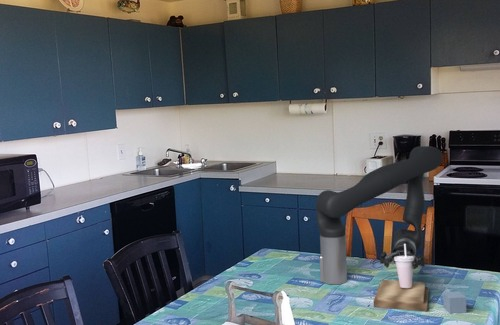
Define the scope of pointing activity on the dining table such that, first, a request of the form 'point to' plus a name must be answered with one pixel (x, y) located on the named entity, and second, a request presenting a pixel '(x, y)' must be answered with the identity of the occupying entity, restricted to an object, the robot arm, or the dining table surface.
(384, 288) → the plinth
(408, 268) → the smoothie
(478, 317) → the dining table surface
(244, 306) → the dining table surface
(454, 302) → the slate cube
